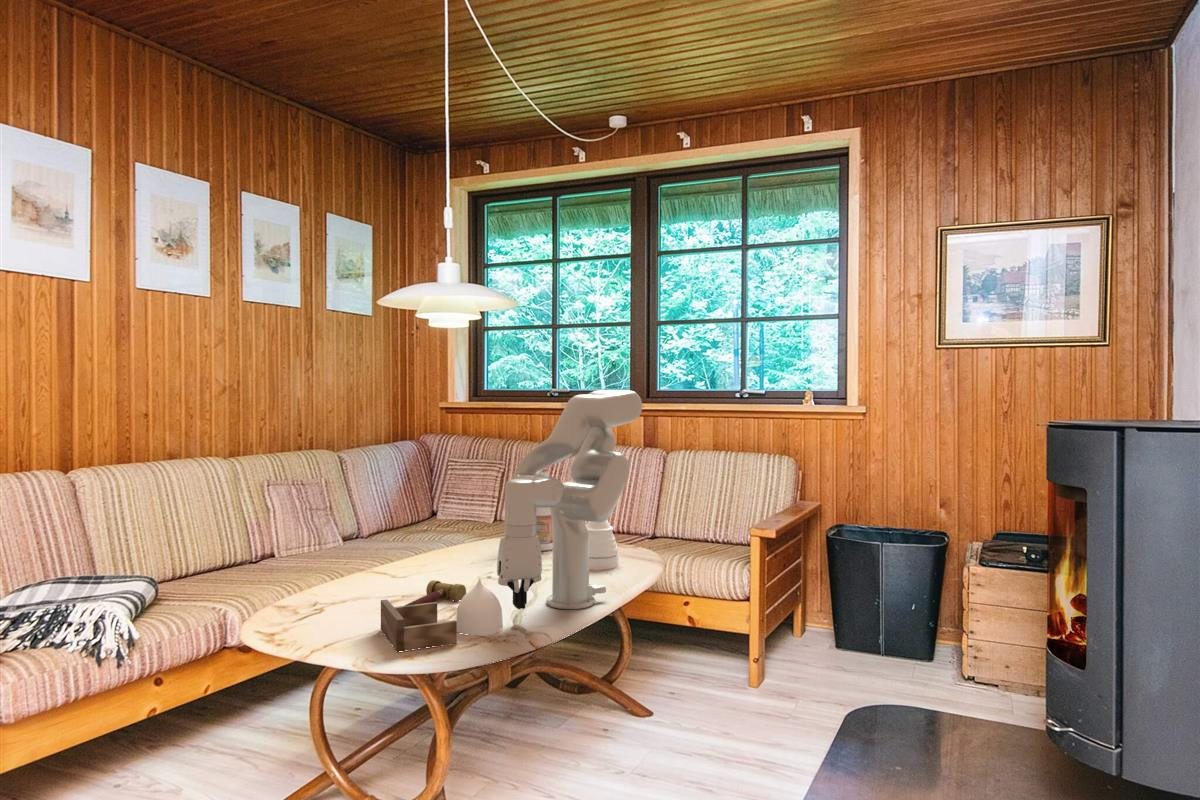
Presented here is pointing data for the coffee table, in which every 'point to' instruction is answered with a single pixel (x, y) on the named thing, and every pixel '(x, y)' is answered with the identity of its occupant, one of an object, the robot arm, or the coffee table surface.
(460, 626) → the teardrop
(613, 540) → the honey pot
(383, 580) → the coffee table surface
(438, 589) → the gavel
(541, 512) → the fruit juice
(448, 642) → the box
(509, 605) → the coffee table surface
